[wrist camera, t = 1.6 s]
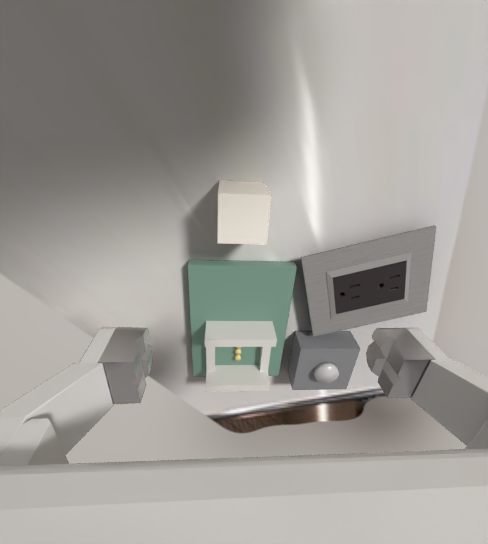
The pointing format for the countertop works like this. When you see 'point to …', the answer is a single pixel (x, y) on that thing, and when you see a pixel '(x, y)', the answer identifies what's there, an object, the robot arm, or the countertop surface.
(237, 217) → the plug
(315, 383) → the grey push button
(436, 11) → the countertop surface
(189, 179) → the countertop surface
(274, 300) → the board
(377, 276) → the electrical outlet
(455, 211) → the countertop surface
